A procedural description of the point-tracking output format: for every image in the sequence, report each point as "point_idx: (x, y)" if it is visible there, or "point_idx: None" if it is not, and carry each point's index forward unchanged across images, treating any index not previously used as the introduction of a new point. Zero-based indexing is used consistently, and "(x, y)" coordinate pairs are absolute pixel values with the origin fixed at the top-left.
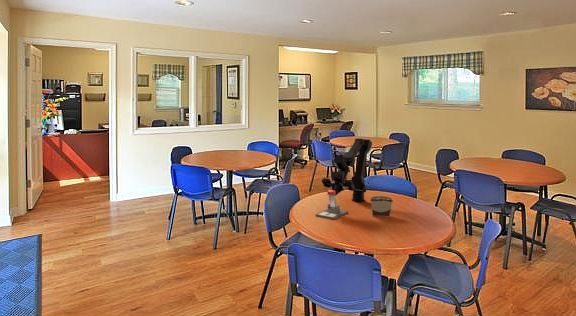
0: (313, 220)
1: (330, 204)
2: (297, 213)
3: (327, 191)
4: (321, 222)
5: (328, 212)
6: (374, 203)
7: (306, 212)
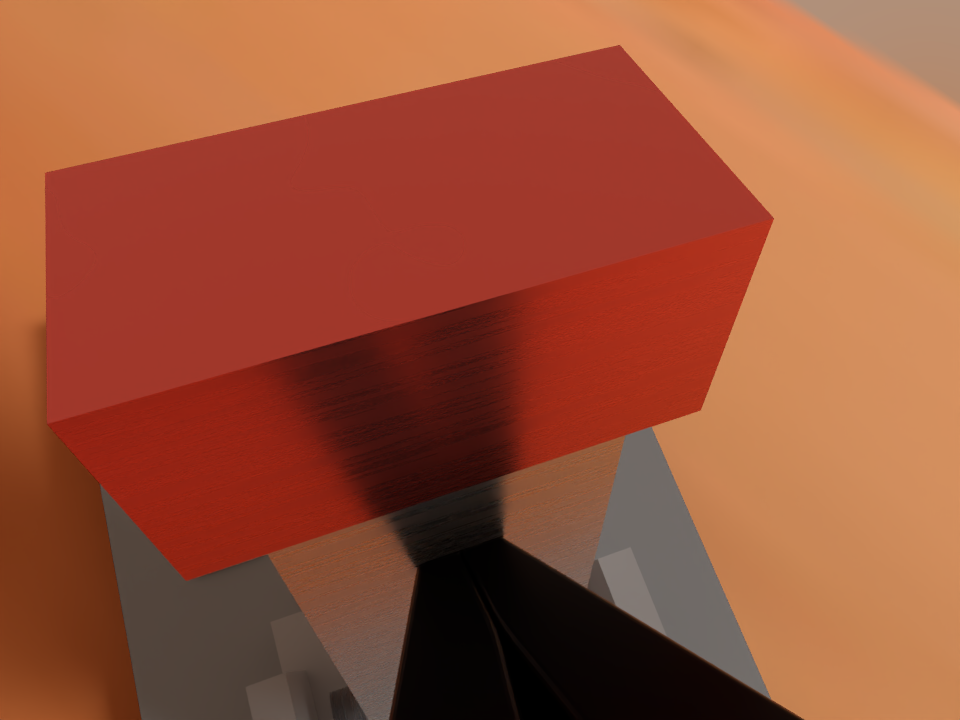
0: (366, 45)
1: None
2: (872, 109)
3: (596, 54)
4: (181, 63)
5: None
6: None
7: (854, 259)
